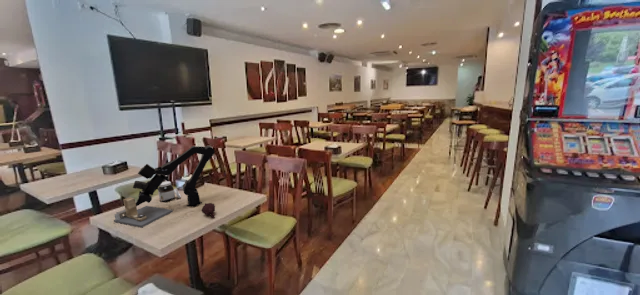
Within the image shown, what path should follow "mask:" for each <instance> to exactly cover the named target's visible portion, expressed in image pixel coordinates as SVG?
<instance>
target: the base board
mask: <svg viewBox="0 0 640 295" xmlns="http://www.w3.org/2000/svg"><path fill="white" fill-rule="evenodd" d="M137 212H138V213H137V214H141V213H144V215H146V217H147V219H145V220H143V221H137V220H136V219H133V218H130V217H126V216H124V215H123V219H122V220H116V219H115V218H114V220H113V222H114V223H116V224H122V225H128V226H133V227H136V228H141V229H142V228H144V227H146V226H148V225H149V224H151V223H153V222H156V221H157V220H159V219H162V218H163V217H165V216H168V215H169V214H171V213H173V212H174V210H173V209H170V208H163V207H156V206H149V205H145V206H143V207H140V208H139V209H138V208H137Z"/></svg>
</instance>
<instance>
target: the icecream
mask: <svg viewBox="0 0 640 295" xmlns="http://www.w3.org/2000/svg"><path fill="white" fill-rule="evenodd" d="M200 211H201V212H202V214H204V216H210V217H211V218H212V219H214V218H215V216H216V215H215V211H216V205H215V203H212V202H209V203H204V205H203V206H202V207H201V210H200Z"/></svg>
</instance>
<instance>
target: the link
mask: <svg viewBox="0 0 640 295" xmlns="http://www.w3.org/2000/svg"><path fill="white" fill-rule="evenodd" d="M122 200H123V205H124V209H125V210H126V213H125V214H123V216H126V217H130V218H133V219H136V220H137V221H143V220H145V219H147V217H146V215H145V216H143V217H140V218H138V216H137V215H138V214H137V213H138V212H137V210H138V208H137V207H138V206H136V202H137V201H136V198H135V197H131V196H129V197H126V198H123V199H122Z"/></svg>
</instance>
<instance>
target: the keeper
mask: <svg viewBox="0 0 640 295" xmlns="http://www.w3.org/2000/svg"><path fill="white" fill-rule="evenodd" d="M125 213H126V210H125V208H124V209H123V210H120V211H118V212H116V213H114V214H113V215H114V220H115V219H116V220H122V219H123V216H124V214H125ZM137 216H138V218H140V217H143V216H145V215H144V213H141V214H138V215H137Z"/></svg>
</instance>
